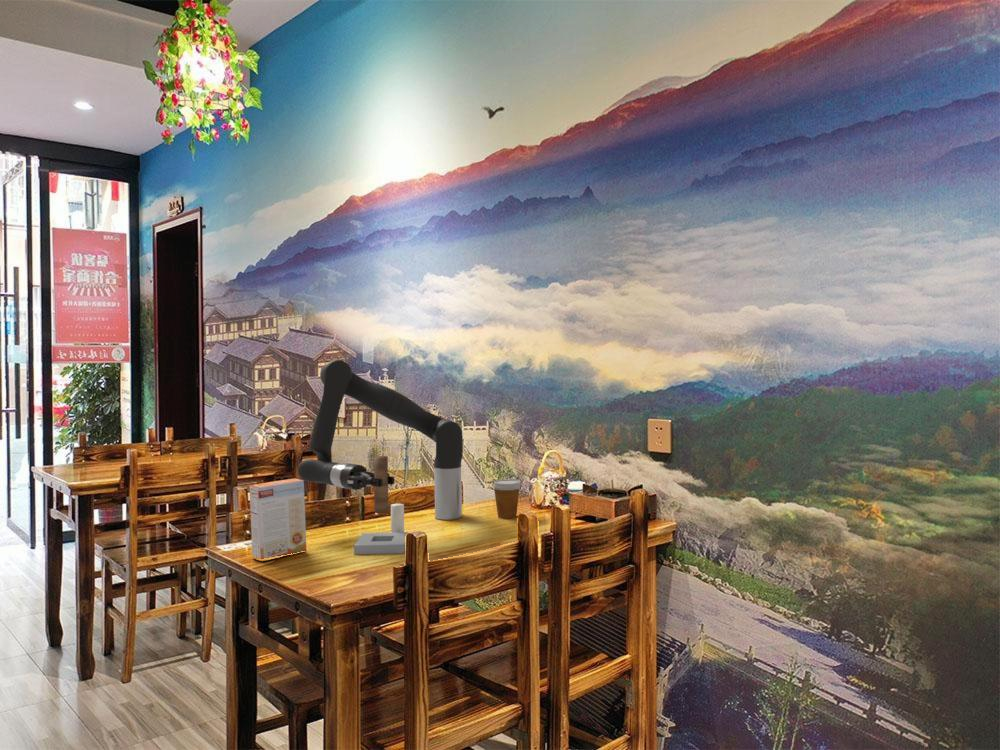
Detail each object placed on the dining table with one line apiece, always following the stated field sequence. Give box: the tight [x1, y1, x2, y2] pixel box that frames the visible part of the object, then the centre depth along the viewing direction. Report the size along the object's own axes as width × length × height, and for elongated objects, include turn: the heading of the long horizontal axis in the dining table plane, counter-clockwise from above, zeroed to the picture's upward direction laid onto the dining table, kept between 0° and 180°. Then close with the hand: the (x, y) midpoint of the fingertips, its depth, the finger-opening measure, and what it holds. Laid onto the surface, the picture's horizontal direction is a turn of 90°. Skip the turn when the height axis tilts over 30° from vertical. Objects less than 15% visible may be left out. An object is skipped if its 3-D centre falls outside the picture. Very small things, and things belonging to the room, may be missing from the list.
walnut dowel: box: [373, 455, 390, 514], centre depth 213 cm, size 4×4×16 cm
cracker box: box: [249, 477, 307, 559], centre depth 206 cm, size 14×6×21 cm, turn 134°
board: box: [353, 531, 408, 555], centre depth 214 cm, size 14×14×2 cm
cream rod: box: [390, 503, 405, 533], centre depth 225 cm, size 4×4×10 cm
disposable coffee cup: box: [492, 479, 521, 520], centre depth 250 cm, size 10×10×12 cm
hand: (387, 481), depth 212 cm, fingers closed on walnut dowel, 4 cm apart
